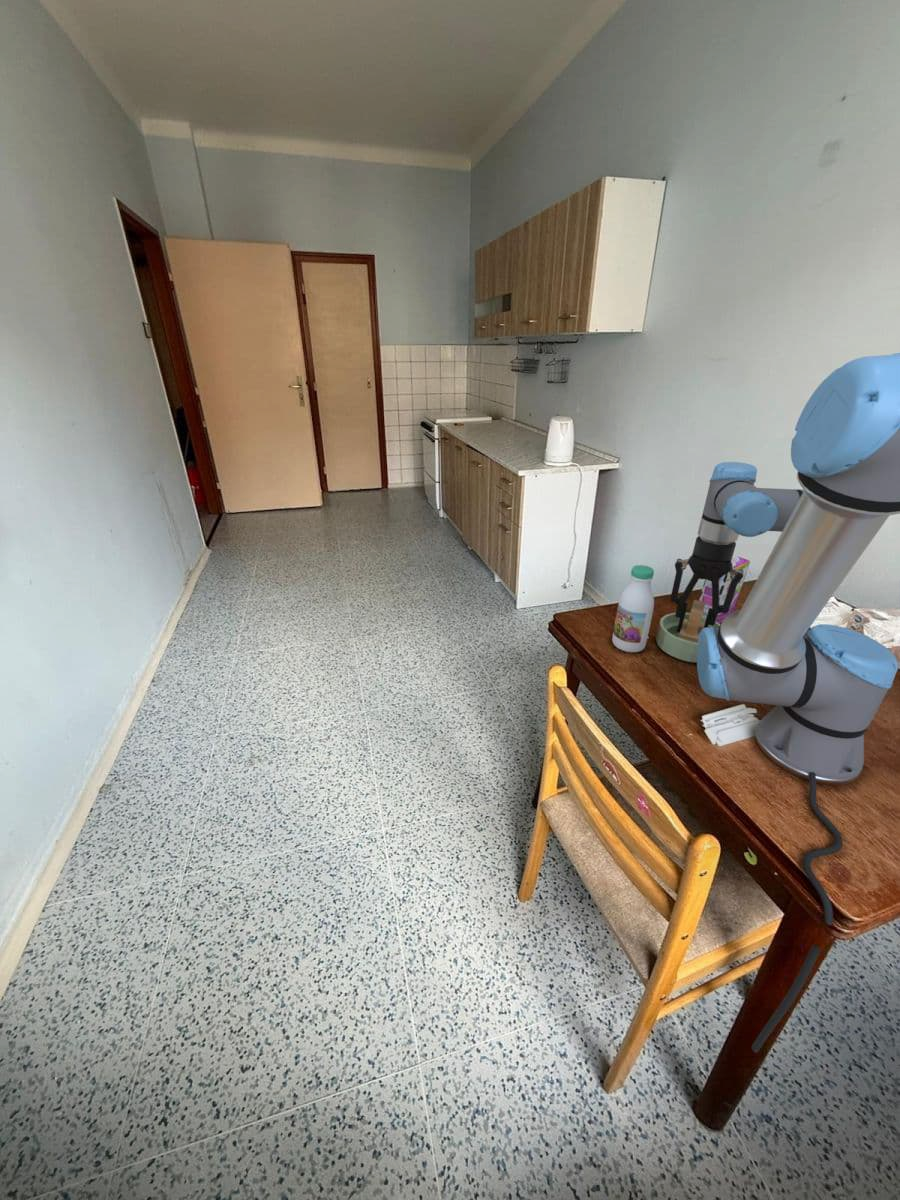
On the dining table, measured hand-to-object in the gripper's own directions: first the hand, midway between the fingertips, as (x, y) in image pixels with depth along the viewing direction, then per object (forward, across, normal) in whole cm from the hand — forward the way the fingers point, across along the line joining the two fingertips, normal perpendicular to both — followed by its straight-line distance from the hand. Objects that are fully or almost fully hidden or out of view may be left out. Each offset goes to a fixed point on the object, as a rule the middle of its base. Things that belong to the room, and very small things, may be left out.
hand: (691, 631), depth 110 cm
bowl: (+4, 0, 0) cm, 4 cm away
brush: (+2, 0, 0) cm, 2 cm away
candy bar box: (+4, -4, -17) cm, 18 cm away
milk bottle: (+4, +12, +6) cm, 14 cm away
